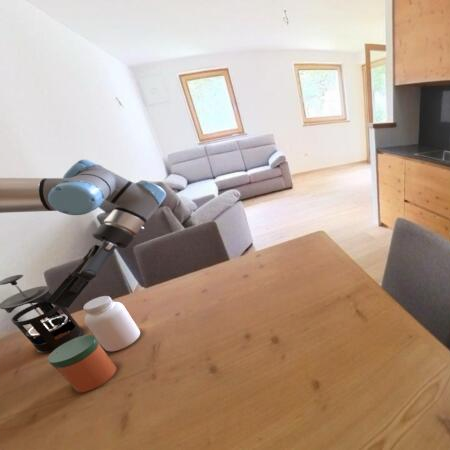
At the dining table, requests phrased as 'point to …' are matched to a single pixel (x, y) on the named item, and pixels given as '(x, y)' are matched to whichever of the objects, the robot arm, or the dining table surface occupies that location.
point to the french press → (41, 317)
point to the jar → (89, 371)
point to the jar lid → (73, 351)
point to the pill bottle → (110, 323)
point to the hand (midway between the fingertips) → (56, 305)
